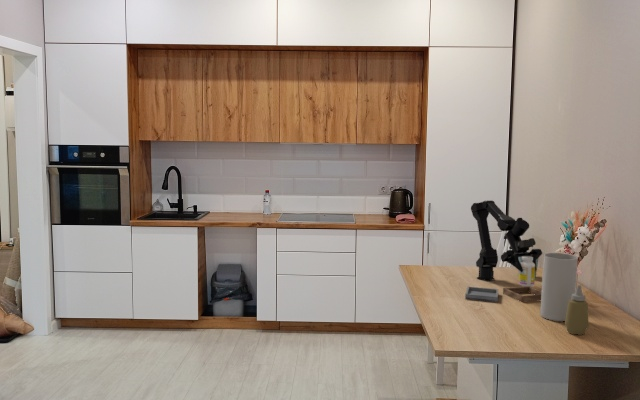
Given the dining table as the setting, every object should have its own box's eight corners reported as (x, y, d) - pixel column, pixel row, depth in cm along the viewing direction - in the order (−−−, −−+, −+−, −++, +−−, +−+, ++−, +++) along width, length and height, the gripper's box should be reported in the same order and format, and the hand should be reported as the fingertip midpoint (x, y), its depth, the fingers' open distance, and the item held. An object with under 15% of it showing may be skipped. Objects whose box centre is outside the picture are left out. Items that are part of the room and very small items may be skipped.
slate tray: (467, 291, 272) (467, 286, 272) (498, 294, 268) (498, 289, 268) (465, 299, 260) (465, 294, 259) (497, 302, 255) (497, 297, 255)
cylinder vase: (533, 314, 239) (536, 254, 236) (556, 311, 244) (560, 252, 241) (556, 323, 228) (560, 260, 225) (580, 320, 233) (585, 258, 230)
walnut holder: (502, 293, 270) (503, 288, 269) (528, 291, 274) (529, 286, 273) (521, 302, 256) (522, 296, 256) (548, 300, 260) (549, 294, 260)
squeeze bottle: (586, 330, 220) (590, 284, 218) (588, 337, 212) (592, 289, 210) (563, 328, 223) (566, 281, 220) (564, 335, 215) (568, 287, 213)
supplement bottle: (532, 283, 267) (533, 255, 266) (535, 287, 261) (537, 258, 259) (517, 282, 268) (518, 255, 266) (520, 286, 261) (521, 258, 260)
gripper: (505, 232, 262) (519, 262, 253) (541, 231, 268) (555, 260, 259) (494, 246, 271) (507, 275, 262) (529, 244, 276) (543, 273, 267)
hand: (528, 271), depth 262 cm, fingers closed on supplement bottle, 7 cm apart
